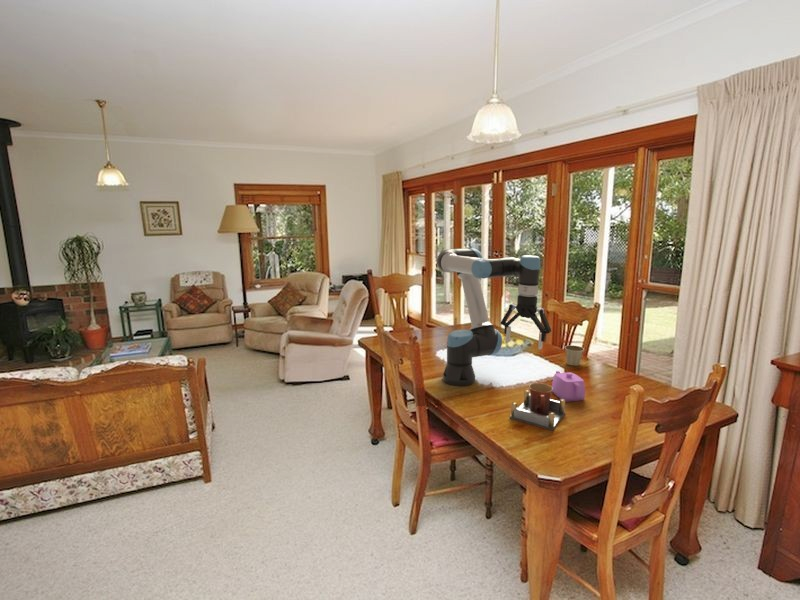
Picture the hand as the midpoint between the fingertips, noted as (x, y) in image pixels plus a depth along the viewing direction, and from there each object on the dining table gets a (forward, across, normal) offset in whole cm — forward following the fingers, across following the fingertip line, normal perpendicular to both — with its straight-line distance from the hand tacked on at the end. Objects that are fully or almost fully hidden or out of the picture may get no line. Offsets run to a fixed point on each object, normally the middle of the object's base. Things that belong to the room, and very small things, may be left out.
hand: (523, 345), depth 169 cm
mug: (+22, +12, -11) cm, 28 cm away
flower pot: (+25, +7, +56) cm, 62 cm away
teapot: (+24, +15, +15) cm, 32 cm away
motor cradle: (+23, +12, -11) cm, 28 cm away
